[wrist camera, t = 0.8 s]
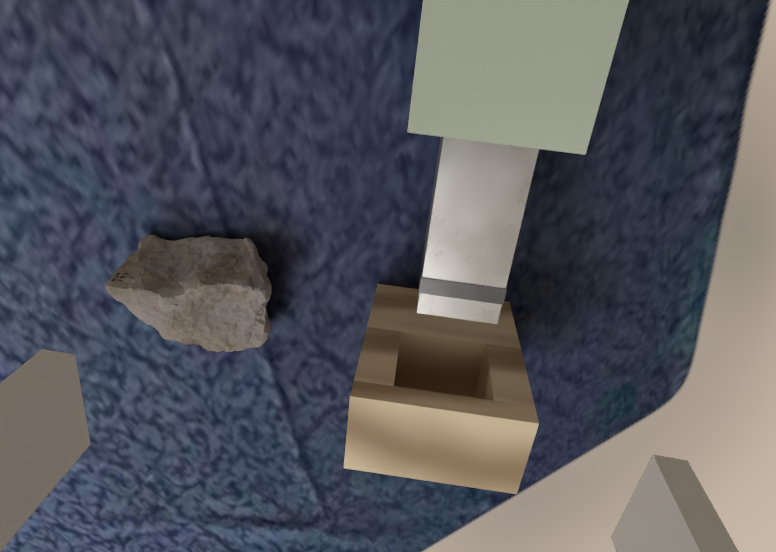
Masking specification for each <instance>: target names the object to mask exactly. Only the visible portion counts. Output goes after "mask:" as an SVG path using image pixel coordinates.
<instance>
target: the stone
mask: <svg viewBox="0 0 776 552" xmlns="http://www.w3.org/2000/svg"><path fill="white" fill-rule="evenodd" d="M267 271H268V267H267V265H266V263H265V262H264V261H263V260H262V259H261V258H260V257H259V255H258V251H257V248H256V246H255V244H254V243H253V242H252V240H251V239H249V238H247V237H246V238H244V239H227V238H220V237H210V236H203V237H199V238H194V237H190V238H185V239H179V240H176V241H169V240H165V239H162V238H159V237H158V236H156V235H148V236H147V237H145V238H143V239H141V240H140V242H139V243H138V250H137V251H136V252H135V253H133V254H131V255H129V257H128V259H127V260H126V262H125V263H124V264H122V265H121V266H120V267H119V268H118V269H117V270H116V272H115V273H114V274H113V275H112V277H111V279H110V280H109V281H108V282H107V284H106V288H107V291H108V292H109V294H110V295H111V296H112V297H113V298H115V299H116V300H117V301H119V302H122V303H124V304H125V305H126V306H127V308H128V309H129V310H130V311H131V312H132V313H133V314H134V315H135V316H136V317H138V318H139V319H140V320H142V321H144V322H145V323H146V324H147V325H152V326H153V327H154V328H155V329H157V330H158V331H159V333H160V335H161V336H162V337H163V338H164V339H165V340H176V341H178V342H180V343H182V344H197V345H200V346H202V347H203V348H205V349H206V350H208V351H216V352H221V351H226V352H232V351H243V350H245V349H248V348H255V347H261V346H262V345H263V344H264V343H265V341H266V340H267V339H268V337H269V335H270V332H271V329H272V327H271V323H270V320H269V317H268V314H267V308H266V307H267V302H268V301H269V299H270V297H271V293H272V291H271V288H272V286H271V283H270V279H269V278H268V277H267Z"/></svg>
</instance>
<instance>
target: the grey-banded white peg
mask: <svg viewBox="0 0 776 552" xmlns="http://www.w3.org/2000/svg"><path fill="white" fill-rule="evenodd" d="M538 151H539V149H536V148H528V147H520V146H512V145H504V144H496V143H488V142H480V141H472V140H464V139H456V138H448V137H441V138H440V145H439V152H438V158H437V165H436V172H435V179H434V185H433V192H432V199H431V205H430V212H429V219H428V225H427V232H426V239H425V244H424V245H423V252H422V260H421V271H420V280H419V292H418V304H417V313H420V314H427V315H435V316H442V317H449V318H456V319H463V320H471V321H478V322H485V323H492V324H497V323H498V319H499V315H500V310H501V306H502V305H503V304H504V299H505V295H506V291H507V288H506V285H507V281H508V277H509V273H510V269H511V264H512V260H513V256H514V252H515V248H516V243H517V239H518V235H519V231H520V227H521V222H522V218H523V214H524V210H525V206H526V202H527V197H528V193H529V189H530V185H531V181H532V176H533V172H534V168H535V164H536V160H537V155H538Z"/></svg>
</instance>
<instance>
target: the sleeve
mask: <svg viewBox="0 0 776 552" xmlns="http://www.w3.org/2000/svg"><path fill="white" fill-rule="evenodd" d="M628 2H629V0H423V6H422V14H421V22H420V31H419V39H418V47H417V56H416V64H415V72H414V81H413V89H412V98H411V106H410V114H409V123H408V131H407V132H409V133H416V134H424V135H432V136H440V137H448V138H456V139H464V140H472V141H480V142H488V143H496V144H504V145H512V146H520V147H528V148H536V149H544V150H552V151H560V152H567V153H575V154H583V155H586V151H587V148H588V144H589V140H590V137H591V133H592V130H593V126H594V123H595V119H596V116H597V112H598V109H599V105H600V101H601V98H602V94H603V91H604V87H605V84H606V80H607V77H608V73H609V69H610V66H611V62H612V59H613V55H614V52H615V48H616V45H617V41H618V37H619V34H620V30H621V27H622V23H623V20H624V16H625V13H626V9H627V5H628Z"/></svg>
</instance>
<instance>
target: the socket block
mask: <svg viewBox="0 0 776 552" xmlns="http://www.w3.org/2000/svg"><path fill="white" fill-rule="evenodd" d="M418 292H419V289H413V288H405V287H398V286H391V285H383V284H377V288H376V292H375V296H374V300H373V304H372V308H371V313H370V317H369V321H368V325H367V329H366V333H365V337H364V341H363V345H362V350H361V354H360V358H359V362H358V366H357V370H356V374H355V378H354V382H353V386H352V391H351V395H350V403H349V414H348V425H347V436H346V447H345V458H344V468H346V469H353V470H360V471H366V472H373V473H379V474H386V475H393V476H399V477H406V478H413V479H419V480H426V481H433V482H439V483H446V484H452V485H459V486H466V487H472V488H479V489H486V490H492V491H499V492H506V493H512V494H517V492H518V488H519V485H520V482H521V479H522V476H523V473H524V469H525V466H526V463H527V460H528V457H529V454H530V450H531V447H532V444H533V441H534V438H535V435H536V431H537V428H538V425H539V422H538V418H537V413H536V409H535V405H534V401H533V397H532V393H531V389H530V384H529V380H528V376H527V372H526V368H525V364H524V360H523V356H522V351H521V347H520V343H519V339H518V335H517V331H516V327H515V322H514V318H513V314H512V310H511V306H510V302H507V301H504V304H503V305H502V306H501V310H500V315H499V319H498V323H497V324H492V323H485V322H478V321H471V320H463V319H456V318H449V317H442V316H435V315H427V314H420V313H417V304H418Z"/></svg>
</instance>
